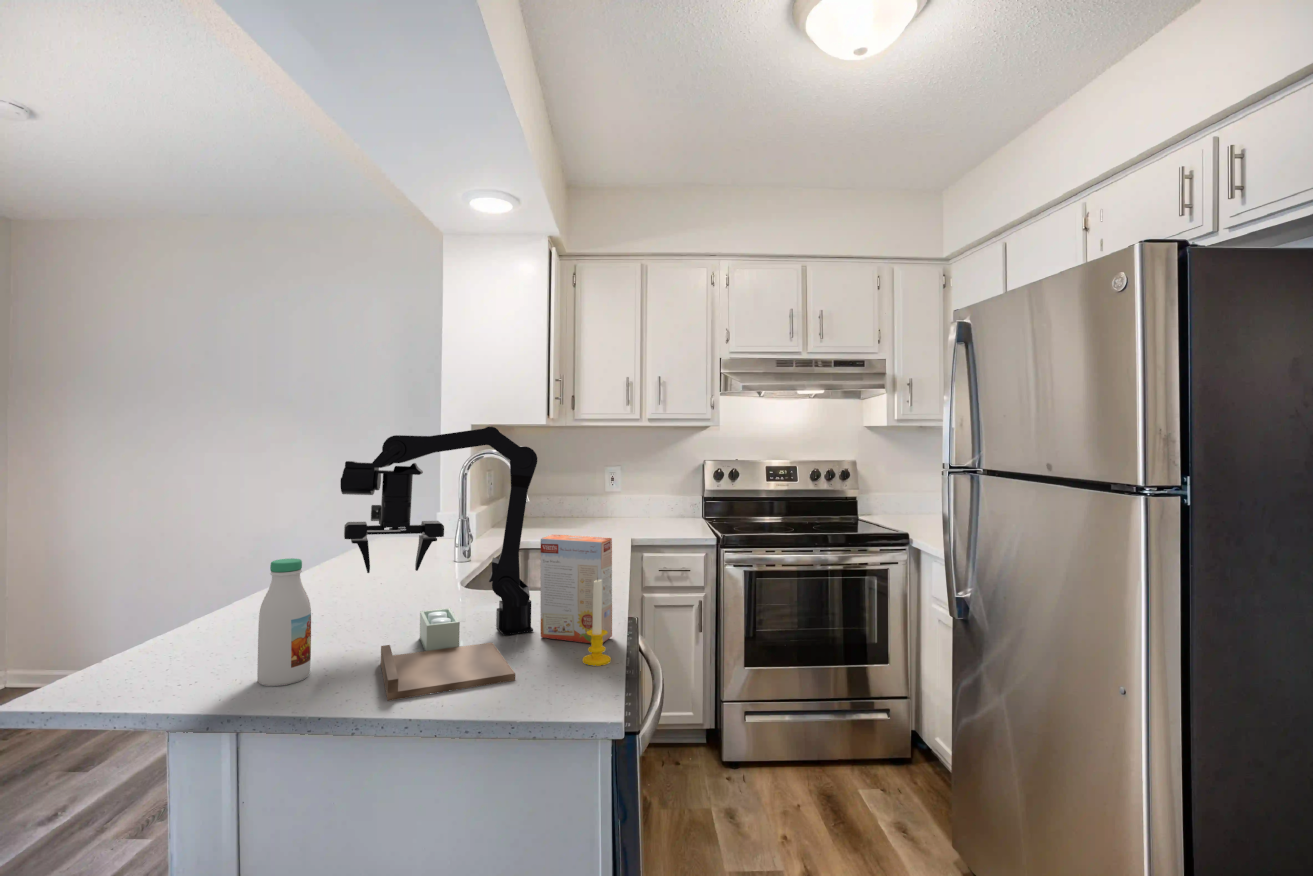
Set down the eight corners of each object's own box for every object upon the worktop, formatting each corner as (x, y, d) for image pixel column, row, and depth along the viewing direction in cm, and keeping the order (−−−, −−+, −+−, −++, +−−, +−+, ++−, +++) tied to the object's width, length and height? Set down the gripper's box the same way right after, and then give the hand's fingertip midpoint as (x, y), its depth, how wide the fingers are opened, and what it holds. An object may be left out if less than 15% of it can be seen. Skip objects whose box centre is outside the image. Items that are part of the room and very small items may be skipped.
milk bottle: (272, 691, 100) (274, 566, 101) (248, 681, 104) (250, 561, 105) (319, 676, 107) (321, 559, 107) (295, 667, 111) (297, 554, 111)
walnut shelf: (492, 648, 122) (492, 632, 122) (515, 680, 106) (515, 661, 106) (380, 663, 113) (381, 646, 113) (387, 700, 97) (387, 680, 97)
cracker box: (613, 636, 130) (613, 536, 130) (601, 646, 125) (601, 542, 124) (553, 629, 135) (553, 532, 135) (539, 638, 129) (539, 537, 129)
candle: (584, 667, 113) (586, 581, 113) (580, 657, 118) (581, 575, 118) (613, 665, 114) (614, 579, 115) (607, 655, 120) (609, 573, 120)
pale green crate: (450, 634, 131) (450, 608, 131) (459, 650, 121) (459, 622, 121) (419, 638, 128) (420, 611, 128) (426, 654, 118) (426, 625, 118)
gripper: (437, 492, 141) (434, 562, 140) (345, 492, 132) (341, 566, 132) (446, 497, 131) (442, 572, 131) (346, 497, 122) (342, 577, 122)
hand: (392, 571), depth 129 cm, fingers open, 9 cm apart
